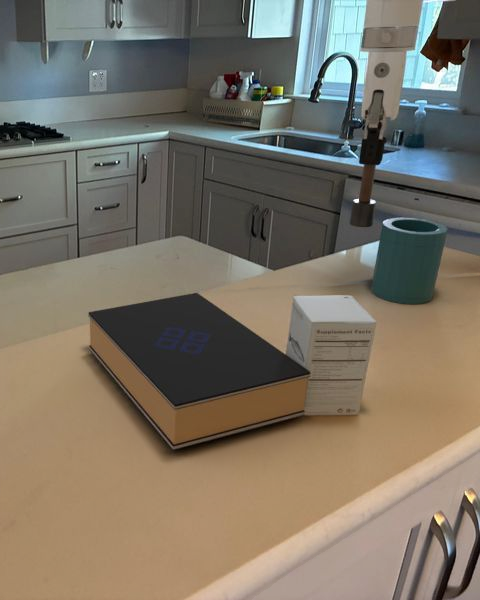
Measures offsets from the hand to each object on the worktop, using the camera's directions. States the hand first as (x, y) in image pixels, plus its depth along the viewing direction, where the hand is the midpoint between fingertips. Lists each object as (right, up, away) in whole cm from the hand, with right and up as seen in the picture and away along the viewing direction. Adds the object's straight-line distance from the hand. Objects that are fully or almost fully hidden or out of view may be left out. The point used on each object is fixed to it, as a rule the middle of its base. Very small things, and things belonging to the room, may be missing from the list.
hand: (370, 161), depth 100 cm
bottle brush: (0, -10, +4) cm, 11 cm away
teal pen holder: (+8, -21, +5) cm, 23 cm away
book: (-34, -34, -20) cm, 52 cm away
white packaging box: (-18, -35, -24) cm, 46 cm away
